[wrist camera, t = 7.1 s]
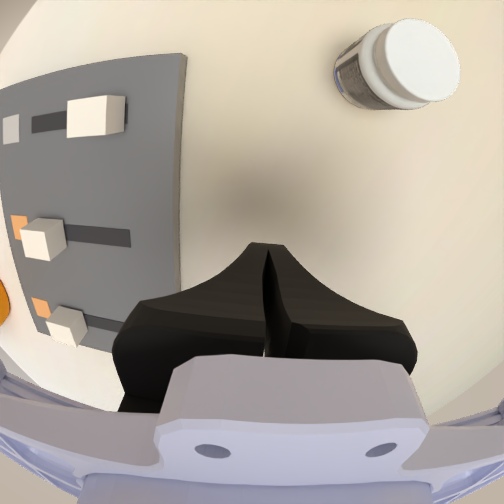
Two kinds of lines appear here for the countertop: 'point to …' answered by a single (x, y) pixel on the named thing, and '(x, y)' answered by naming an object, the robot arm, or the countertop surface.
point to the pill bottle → (398, 67)
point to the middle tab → (43, 238)
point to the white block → (67, 326)
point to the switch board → (96, 190)
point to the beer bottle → (3, 304)
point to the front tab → (95, 116)
